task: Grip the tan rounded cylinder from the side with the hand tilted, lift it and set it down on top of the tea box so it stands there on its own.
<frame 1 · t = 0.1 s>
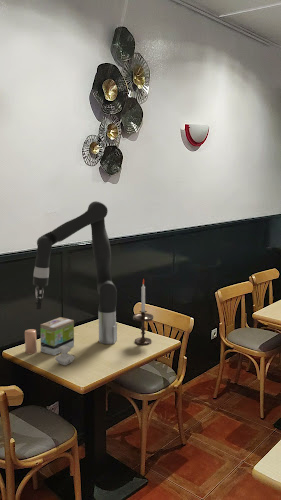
hand: (38, 306, 236), 22 cm above the table, tool pointing down, fingers open, 8 cm apart
tan rounded cylinder: (31, 351, 236), on the table
candlestick: (143, 342, 249), on the table
stamp: (65, 363, 222), on the table
tea box: (57, 349, 239), on the table
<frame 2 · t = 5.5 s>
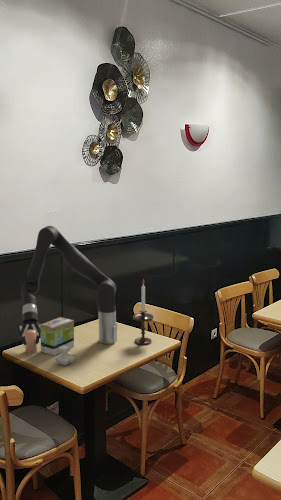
hand: (30, 344, 233), 5 cm above the table, tool tilted 45°, fingers closed on tan rounded cylinder, 5 cm apart
tan rounded cylinder: (31, 351, 236), on the table, touching gripper
everything else where it was.
when the fingers open (21 cm above the table, at t = 10.1 s): tan rounded cylinder drops 2 cm, resting on tea box.
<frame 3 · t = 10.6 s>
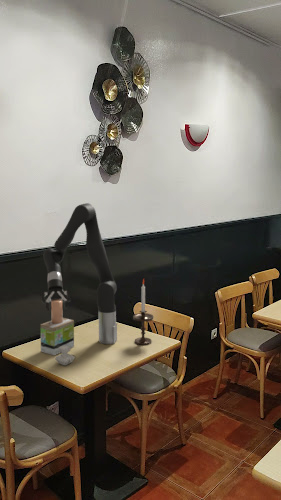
hand: (56, 309, 234), 22 cm above the table, tool tilted 45°, fingers open, 8 cm apart
tan rounded cylinder: (57, 321, 237), point 15 cm above the table, touching tea box
tea box: (57, 349, 239), on the table, touching tan rounded cylinder
everything else where it was.
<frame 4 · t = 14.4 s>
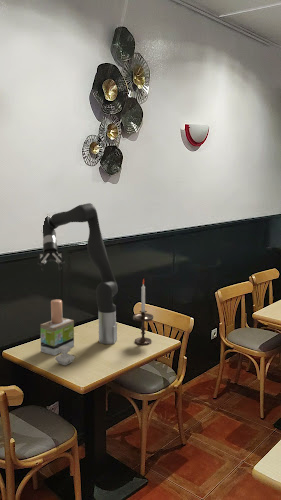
hand: (51, 270, 246), 39 cm above the table, tool tilted 45°, fingers open, 8 cm apart
nothing on the table moved.
at the end: tan rounded cylinder inside the target area on the tea box (0.1 cm from its centre), point 15.0 cm above the tea box's base; tan rounded cylinder tilted 0°; tan rounded cylinder touching tea box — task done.
